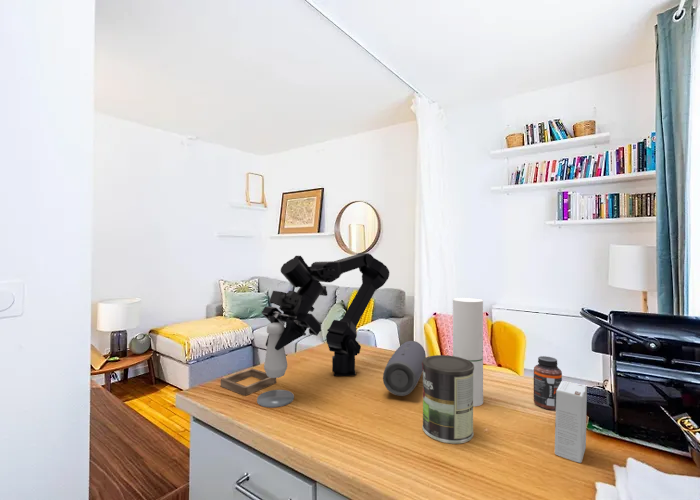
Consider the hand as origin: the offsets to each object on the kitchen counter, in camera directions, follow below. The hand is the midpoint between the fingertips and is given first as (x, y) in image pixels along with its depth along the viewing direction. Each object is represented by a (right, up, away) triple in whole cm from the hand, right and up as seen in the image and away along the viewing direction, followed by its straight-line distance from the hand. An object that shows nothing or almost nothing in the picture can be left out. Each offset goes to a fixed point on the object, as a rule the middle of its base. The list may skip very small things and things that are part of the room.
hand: (271, 347), depth 85 cm
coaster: (+1, -13, +1) cm, 13 cm away
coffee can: (+40, -13, -14) cm, 44 cm away
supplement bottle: (+67, -13, -2) cm, 69 cm away
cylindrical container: (+49, -13, +1) cm, 51 cm away
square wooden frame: (-9, -13, +10) cm, 19 cm away
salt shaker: (+1, -7, +1) cm, 7 cm away
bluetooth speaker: (+35, -13, +11) cm, 39 cm away
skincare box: (+60, -13, -22) cm, 65 cm away
